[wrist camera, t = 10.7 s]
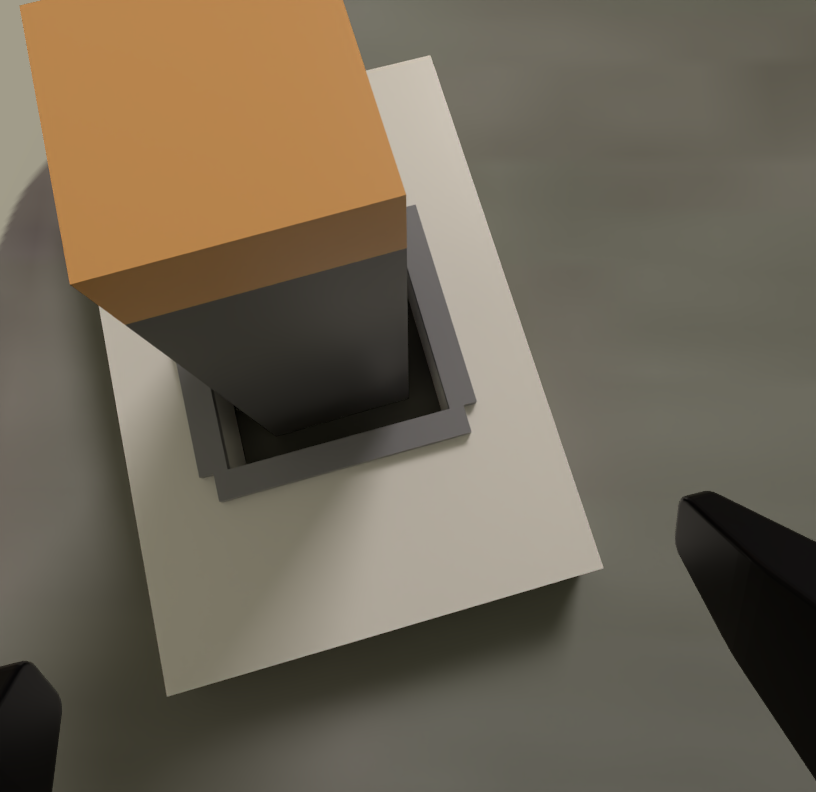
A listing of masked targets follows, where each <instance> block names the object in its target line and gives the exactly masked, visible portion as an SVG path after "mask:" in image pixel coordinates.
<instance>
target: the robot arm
mask: <svg viewBox="0 0 816 792" xmlns="http://www.w3.org/2000/svg"><path fill="white" fill-rule="evenodd" d="M675 544H676V548H677V550H678V553H679V555H680V557H681V559H682V561H683V563H684V565H685V567H686V569H687V570H688V572H689V574H690V576H691V578H692V580H693V582H694V584H695V586H696V588H697V589H698V591H699V593H700V595H701V597H702V599H703V601H704V603H705V605H706V607H707V608H708V610H709V612H710V614H711V616H712V618H713V620H714V622H715V624H716V625H717V627H718V629H719V631H720V633H721V635H722V637H723V639H724V640H725V642H726V644H727V646H728V648H729V649H730V651H731V653H732V655H733V656H734V658H735V659H736V661H737V662H738V664H739V666H740V667H741V669H742V670H743V672H744V673H745V675H746V676H747V678H748V679H749V681H750V682H751V684H752V685H753V687H754V688H755V690H756V691H757V693H758V694H759V696H760V697H761V699H762V700H763V702H764V703H765V705H766V706H767V708H768V709H769V711H770V712H771V714H772V715H773V717H774V718H775V720H776V721H777V723H778V724H779V726H780V727H781V729H782V730H783V732H784V733H785V735H786V736H787V738H788V739H789V741H790V742H791V744H792V745H793V747H794V748H795V750H796V751H797V753H798V754H799V756H800V757H801V759H802V760H803V762H804V763H805V765H806V766H807V768H808V769H809V771H810V772H811V774H812V775H813V777H814V778H815V780H816V542H815V541H813V540H811V539H809V538H807V537H805V536H803V535H801V534H799V533H797V532H795V531H793V530H791V529H789V528H786V527H784V526H782V525H780V524H778V523H776V522H774V521H772V520H770V519H768V518H766V517H764V516H762V515H760V514H758V513H756V512H754V511H752V510H750V509H748V508H746V507H744V506H742V505H740V504H738V503H735V502H733V501H731V500H729V499H727V498H725V497H723V496H721V495H719V494H717V493H715V492H711V491H703V492H699V493H695V494H691V495H687V496H684V497H682V498H681V500H680V501H679V505H678V513H677V522H676V531H675ZM61 715H62V704H61V699H60V697H59V694H58V693H57V691H56V690H55V689H54V688H53V686H52V685H51V684H50V683H49V682H48V680H47V679H46V678H45V677H44V676H43V674H42V673H41V672H40V671H39V670H38V668H37V667H36V666H35V665H34V664H33V663H31V662H28V661H21V662H17V663H13V664H9V665H5V666H1V667H0V792H52V788H53V780H54V772H55V764H56V756H57V748H58V739H59V731H60V723H61Z"/></svg>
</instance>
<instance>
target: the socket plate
mask: <svg viewBox="0 0 816 792" xmlns="http://www.w3.org/2000/svg"><path fill="white" fill-rule="evenodd" d="M366 73H367V76H368V79H369V82H370V85H371V88H372V91H373V94H374V98H375V101H376V104H377V107H378V110H379V113H380V116H381V119H382V122H383V125H384V128H385V131H386V134H387V137H388V140H389V144H390V147H391V150H392V153H393V156H394V159H395V162H396V165H397V168H398V171H399V174H400V177H401V180H402V183H403V186H404V190H405V193H406V219H407V296H408V300H409V303H410V306H411V310H412V313H413V317H414V320H415V323H416V327H417V330H418V333H419V337H420V340H421V344H422V347H423V350H424V354H425V357H426V360H427V364H428V367H429V370H430V374H431V377H432V381H433V384H434V387H435V391H436V394H437V397H438V401H439V404H440V408H441V411H439V412H436V413H432V414H429V415H425V416H421V417H418V418H414V419H410V420H407V421H403V422H399V423H396V424H392V425H389V426H385V427H381V428H378V429H374V430H370V431H367V432H363V433H359V434H356V435H352V436H348V437H345V438H341V439H338V440H334V441H330V442H327V443H323V444H319V445H316V446H312V447H308V448H305V449H301V450H297V451H294V452H290V453H287V454H283V455H279V456H276V457H272V458H268V459H265V460H261V461H257V462H254V463H250V464H246V461H245V456H244V452H243V447H242V442H241V438H240V433H239V429H238V424H237V420H236V415H235V410H234V406H233V404H232V403H230V402H229V401H227V400H226V399H225V398H223V397H222V396H221V395H219V394H218V393H217V392H215V391H214V390H213V389H211V388H210V387H208V386H207V385H206V384H204V383H203V382H202V381H200V380H199V379H198V378H196V377H195V376H194V375H192V374H191V373H189V372H188V371H187V370H185V369H184V368H183V367H181V366H180V365H179V364H177V363H176V362H175V361H173V360H172V359H170V358H169V357H168V356H166V355H165V354H164V353H162V352H161V351H160V350H158V349H157V348H156V347H154V346H153V345H151V344H150V343H149V342H147V341H146V340H145V339H143V338H142V337H141V336H139V335H138V334H136V333H135V332H134V331H132V330H131V329H130V328H128V327H127V326H126V325H124V324H123V323H122V322H120V321H119V320H117V319H116V318H115V317H113V316H112V315H111V314H109V313H108V312H107V311H105V310H104V309H103V308H101V307H100V306H99V310H100V316H101V322H102V327H103V333H104V339H105V345H106V350H107V356H108V362H109V367H110V373H111V379H112V385H113V390H114V396H115V402H116V408H117V413H118V419H119V425H120V430H121V436H122V442H123V448H124V453H125V459H126V465H127V471H128V476H129V482H130V488H131V494H132V499H133V505H134V511H135V516H136V522H137V528H138V534H139V539H140V545H141V551H142V557H143V562H144V568H145V574H146V580H147V585H148V591H149V597H150V602H151V608H152V614H153V620H154V625H155V631H156V637H157V643H158V648H159V654H160V660H161V665H162V671H163V677H164V683H165V688H166V694H167V697H168V696H172V695H175V694H178V693H182V692H185V691H189V690H192V689H195V688H199V687H202V686H206V685H209V684H212V683H216V682H219V681H222V680H226V679H229V678H233V677H236V676H239V675H243V674H246V673H250V672H253V671H256V670H260V669H263V668H267V667H270V666H273V665H277V664H280V663H284V662H287V661H290V660H294V659H297V658H301V657H304V656H307V655H311V654H314V653H318V652H321V651H324V650H328V649H331V648H335V647H338V646H341V645H345V644H348V643H351V642H355V641H358V640H362V639H365V638H368V637H372V636H375V635H379V634H382V633H385V632H389V631H392V630H396V629H399V628H402V627H406V626H409V625H413V624H416V623H419V622H423V621H426V620H430V619H433V618H436V617H440V616H443V615H447V614H450V613H453V612H457V611H460V610H463V609H467V608H470V607H474V606H477V605H480V604H484V603H487V602H491V601H494V600H497V599H501V598H504V597H508V596H511V595H514V594H518V593H521V592H525V591H528V590H531V589H535V588H538V587H542V586H545V585H548V584H552V583H555V582H559V581H562V580H565V579H569V578H572V577H576V576H579V575H582V574H586V573H589V572H592V571H596V570H599V569H603V565H602V562H601V559H600V556H599V553H598V550H597V547H596V544H595V541H594V538H593V535H592V532H591V529H590V526H589V524H588V521H587V518H586V515H585V512H584V509H583V506H582V503H581V500H580V497H579V494H578V491H577V488H576V485H575V482H574V479H573V476H572V473H571V470H570V467H569V464H568V461H567V458H566V455H565V453H564V450H563V447H562V444H561V441H560V438H559V435H558V432H557V429H556V426H555V423H554V420H553V417H552V414H551V411H550V408H549V405H548V402H547V399H546V396H545V393H544V390H543V387H542V384H541V381H540V379H539V376H538V373H537V370H536V367H535V364H534V361H533V358H532V355H531V352H530V349H529V346H528V343H527V340H526V337H525V334H524V331H523V328H522V325H521V322H520V319H519V316H518V313H517V310H516V307H515V305H514V302H513V299H512V296H511V293H510V290H509V287H508V284H507V281H506V278H505V275H504V272H503V269H502V266H501V263H500V260H499V257H498V254H497V251H496V248H495V245H494V242H493V239H492V236H491V234H490V231H489V228H488V225H487V222H486V219H485V216H484V213H483V210H482V207H481V204H480V201H479V198H478V195H477V192H476V189H475V186H474V183H473V180H472V177H471V174H470V171H469V168H468V165H467V162H466V160H465V157H464V154H463V151H462V148H461V145H460V142H459V139H458V136H457V133H456V130H455V127H454V124H453V121H452V118H451V115H450V112H449V109H448V106H447V103H446V100H445V97H444V94H443V91H442V88H441V86H440V83H439V80H438V77H437V74H436V71H435V68H434V65H433V62H432V59H431V56H430V55H429V56H425V57H421V58H417V59H413V60H409V61H404V62H400V63H396V64H392V65H388V66H384V67H379V68H375V69H371V70H367V71H366Z"/></svg>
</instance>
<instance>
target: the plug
mask: <svg viewBox="0 0 816 792" xmlns="http://www.w3.org/2000/svg"><path fill="white" fill-rule="evenodd" d="M20 11H21V16H22V22H23V28H24V33H25V38H26V44H27V50H28V54H29V61H30V66H31V71H32V77H33V83H34V88H35V94H36V100H37V105H38V110H39V116H40V121H41V127H42V133H43V138H44V144H45V149H46V155H47V160H48V166H49V171H50V177H51V183H52V188H53V194H54V199H55V205H56V210H57V216H58V221H59V227H60V232H61V238H62V243H63V249H64V255H65V260H66V266H67V271H68V277H69V282H70V285H71V286H73V287H74V288H75V289H77V290H78V291H79V292H81V293H82V294H84V295H85V296H86V297H88V298H89V299H90V300H92V301H93V302H94V303H96V304H97V305H98V306H100V307H101V308H103V309H104V310H105V311H107V312H108V313H109V314H111V315H112V316H113V317H115V318H116V319H117V320H119V321H120V322H122V323H123V324H124V325H126V326H127V327H128V328H130V329H131V330H132V331H134V332H135V333H136V334H138V335H139V336H141V337H142V338H143V339H145V340H146V341H147V342H149V343H150V344H151V345H153V346H154V347H156V348H157V349H158V350H160V351H161V352H162V353H164V354H165V355H166V356H168V357H169V358H170V359H172V360H173V361H175V362H176V363H177V364H179V365H180V366H181V367H183V368H184V369H185V370H187V371H188V372H189V373H191V374H192V375H194V376H195V377H196V378H198V379H199V380H200V381H202V382H203V383H204V384H206V385H207V386H208V387H210V388H211V389H213V390H214V391H215V392H217V393H218V394H219V395H221V396H222V397H223V398H225V399H226V400H227V401H229V402H230V403H232V404H233V405H234V406H236V407H237V408H238V409H240V410H241V411H242V412H244V413H245V414H247V415H248V416H249V417H251V418H252V419H253V420H255V421H256V422H257V423H259V424H260V425H261V426H263V427H264V428H266V429H267V430H268V431H270V432H271V433H272V434H274V435H275V436H279V435H283V434H286V433H290V432H293V431H296V430H300V429H303V428H307V427H310V426H314V425H317V424H321V423H324V422H328V421H331V420H335V419H338V418H342V417H345V416H349V415H352V414H356V413H359V412H363V411H366V410H369V409H373V408H376V407H380V406H383V405H387V404H390V403H394V402H397V401H401V400H404V399H408V398H409V385H408V302H407V219H406V193H405V190H404V186H403V183H402V180H401V177H400V174H399V171H398V168H397V165H396V162H395V159H394V156H393V153H392V150H391V147H390V144H389V140H388V137H387V134H386V131H385V128H384V125H383V122H382V119H381V116H380V113H379V110H378V107H377V104H376V101H375V98H374V94H373V91H372V88H371V85H370V82H369V79H368V76H367V73H366V70H365V67H364V64H363V61H362V58H361V55H360V52H359V48H358V45H357V42H356V39H355V36H354V33H353V30H352V27H351V24H350V21H349V18H348V15H347V12H346V9H345V6H344V2H343V0H41V1H37V2H33V3H28V4H24V5H20Z"/></svg>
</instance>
